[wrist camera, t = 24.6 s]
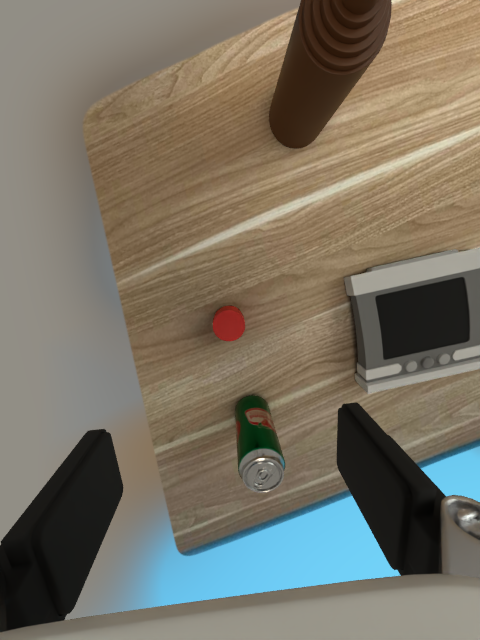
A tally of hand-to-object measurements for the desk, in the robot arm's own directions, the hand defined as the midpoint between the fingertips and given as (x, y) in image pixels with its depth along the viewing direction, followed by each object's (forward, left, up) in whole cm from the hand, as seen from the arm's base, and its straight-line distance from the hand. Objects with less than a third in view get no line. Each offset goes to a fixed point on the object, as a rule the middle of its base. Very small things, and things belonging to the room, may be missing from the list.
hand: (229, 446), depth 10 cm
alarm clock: (+23, +11, -25) cm, 35 cm away
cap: (0, 0, -24) cm, 24 cm away
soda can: (+9, -11, -25) cm, 28 cm away
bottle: (-3, +25, -24) cm, 35 cm away
